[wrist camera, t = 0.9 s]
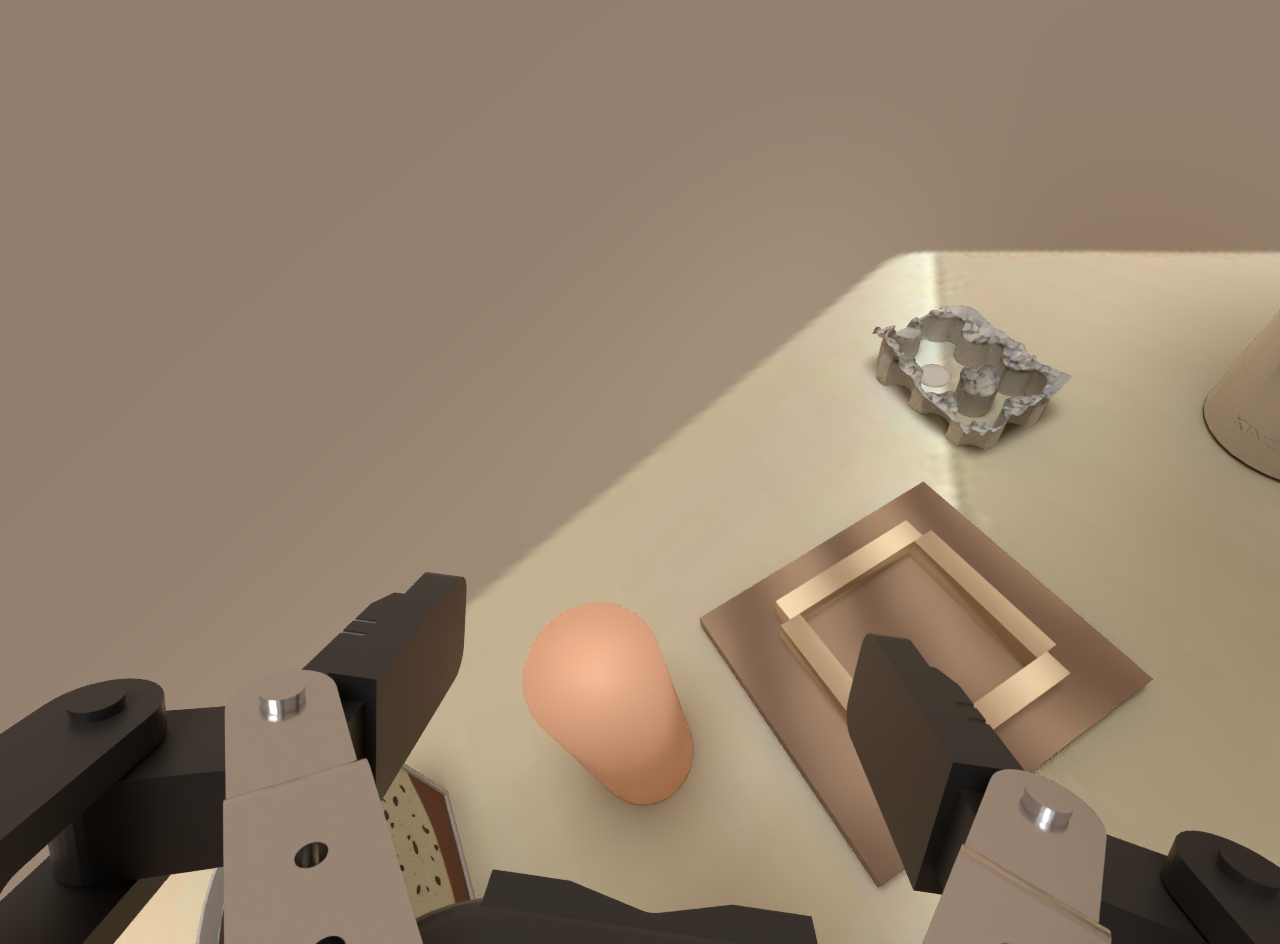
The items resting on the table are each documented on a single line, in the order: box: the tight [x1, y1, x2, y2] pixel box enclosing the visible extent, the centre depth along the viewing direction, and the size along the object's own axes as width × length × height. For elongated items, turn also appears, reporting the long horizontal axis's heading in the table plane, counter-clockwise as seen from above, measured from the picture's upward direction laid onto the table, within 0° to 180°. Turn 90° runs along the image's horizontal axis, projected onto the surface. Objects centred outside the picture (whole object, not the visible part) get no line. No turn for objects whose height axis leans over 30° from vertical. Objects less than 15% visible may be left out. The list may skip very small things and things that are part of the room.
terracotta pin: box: [523, 603, 693, 805], centre depth 26 cm, size 5×5×12 cm
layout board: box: [700, 482, 1153, 886], centre depth 30 cm, size 16×14×2 cm
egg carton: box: [873, 306, 1071, 450], centre depth 40 cm, size 11×8×4 cm
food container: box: [196, 763, 475, 944], centre depth 23 cm, size 12×6×10 cm, turn 27°
